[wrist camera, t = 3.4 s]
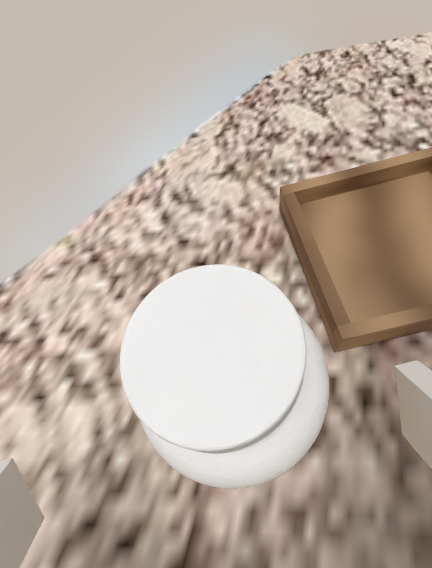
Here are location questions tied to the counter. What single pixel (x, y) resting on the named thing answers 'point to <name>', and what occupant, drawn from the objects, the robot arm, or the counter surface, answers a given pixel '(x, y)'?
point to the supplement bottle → (224, 376)
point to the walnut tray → (366, 247)
